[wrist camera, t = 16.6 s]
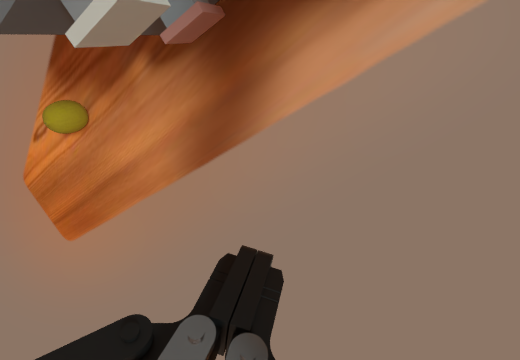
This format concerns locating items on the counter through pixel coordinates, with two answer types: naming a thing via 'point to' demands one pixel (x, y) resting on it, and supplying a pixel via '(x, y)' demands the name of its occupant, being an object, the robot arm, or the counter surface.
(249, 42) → the counter surface
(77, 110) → the lemon
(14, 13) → the grey dispenser box
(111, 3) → the upper plunger
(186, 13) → the lower plunger
